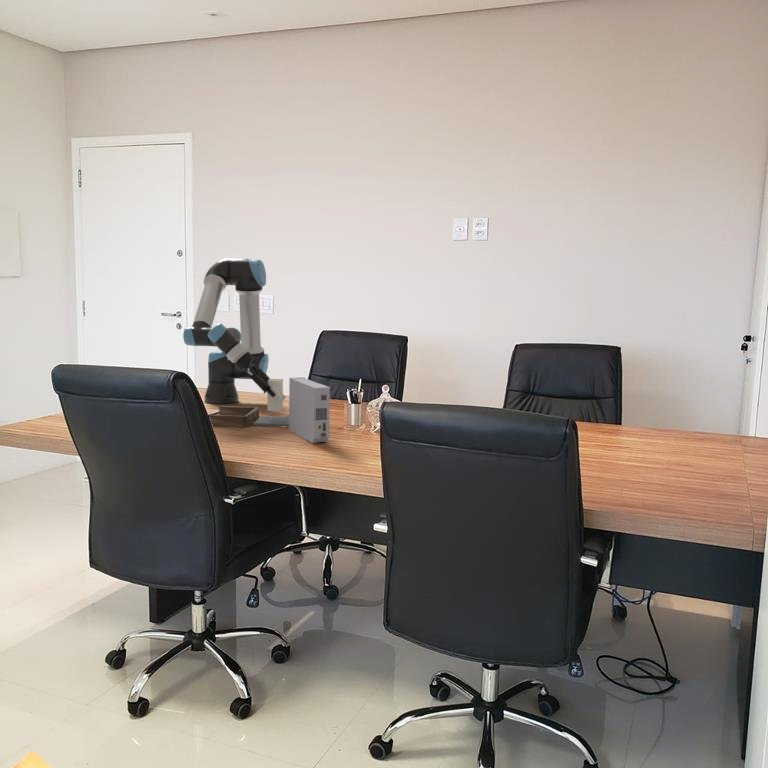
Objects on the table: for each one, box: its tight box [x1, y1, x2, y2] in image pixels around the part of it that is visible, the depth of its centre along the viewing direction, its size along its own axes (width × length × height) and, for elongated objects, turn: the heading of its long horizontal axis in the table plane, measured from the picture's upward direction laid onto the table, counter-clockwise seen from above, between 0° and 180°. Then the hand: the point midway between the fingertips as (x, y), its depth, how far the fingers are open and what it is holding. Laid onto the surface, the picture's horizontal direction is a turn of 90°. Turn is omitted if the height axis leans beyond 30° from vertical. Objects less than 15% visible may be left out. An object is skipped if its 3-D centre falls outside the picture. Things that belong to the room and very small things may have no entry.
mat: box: [252, 415, 289, 428], centre depth 303 cm, size 15×14×1 cm
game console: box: [288, 376, 331, 444], centre depth 277 cm, size 6×27×20 cm, turn 25°
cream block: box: [266, 378, 284, 412], centre depth 302 cm, size 5×5×12 cm
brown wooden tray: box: [208, 405, 260, 428], centre depth 304 cm, size 21×16×4 cm
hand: (282, 400), depth 302 cm, fingers closed on cream block, 5 cm apart
